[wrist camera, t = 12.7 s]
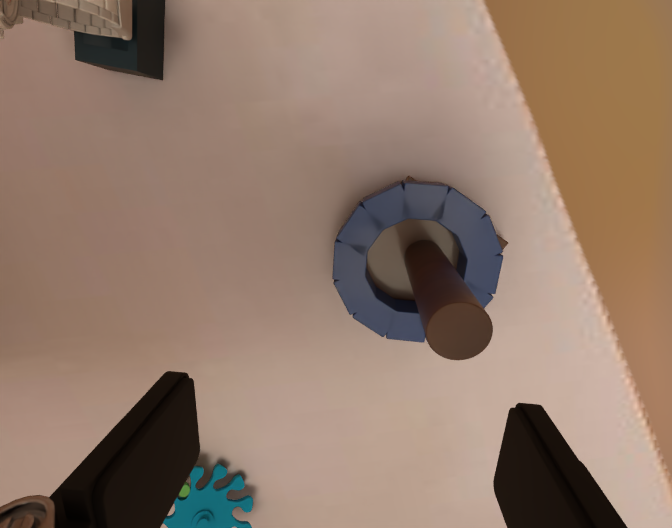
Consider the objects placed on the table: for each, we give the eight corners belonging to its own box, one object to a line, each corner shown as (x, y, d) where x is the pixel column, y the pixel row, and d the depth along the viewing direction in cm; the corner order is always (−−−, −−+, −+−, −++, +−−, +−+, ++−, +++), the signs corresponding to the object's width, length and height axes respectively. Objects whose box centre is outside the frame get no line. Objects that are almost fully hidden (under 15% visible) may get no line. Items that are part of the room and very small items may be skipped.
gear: (274, 517, 37) (190, 618, 32) (261, 500, 42) (186, 585, 37) (207, 435, 37) (110, 524, 32) (201, 428, 42) (118, 504, 37)
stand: (344, 268, 30) (325, 352, 18) (408, 175, 27) (439, 195, 15) (432, 324, 31) (474, 443, 18) (503, 239, 28) (609, 309, 16)
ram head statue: (79, -21, 25) (-124, -142, 15) (189, -2, 25) (59, -110, 15) (83, 66, 27) (-98, 13, 17) (185, 85, 27) (66, 43, 16)
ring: (308, 275, 29) (303, 285, 27) (395, 148, 26) (397, 148, 23) (425, 352, 30) (429, 368, 28) (524, 240, 27) (538, 248, 25)
